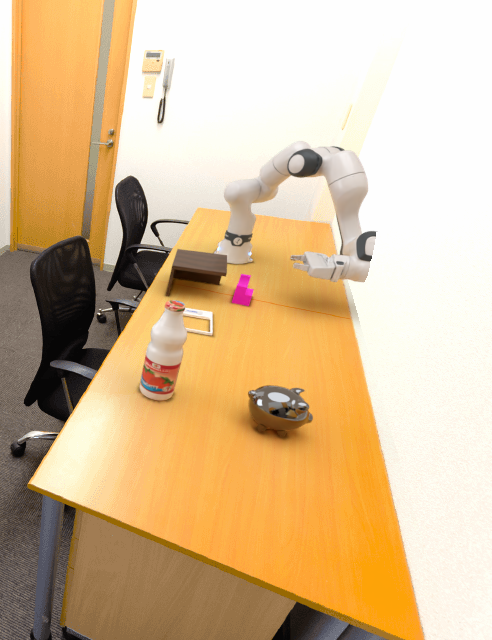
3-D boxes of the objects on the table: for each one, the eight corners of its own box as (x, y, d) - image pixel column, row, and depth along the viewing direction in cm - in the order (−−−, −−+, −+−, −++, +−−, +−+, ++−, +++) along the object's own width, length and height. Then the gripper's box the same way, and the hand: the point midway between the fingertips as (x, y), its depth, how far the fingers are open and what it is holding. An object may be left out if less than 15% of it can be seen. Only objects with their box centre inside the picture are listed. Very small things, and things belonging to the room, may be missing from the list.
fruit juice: (178, 391, 123) (202, 304, 109) (162, 406, 117) (184, 315, 103) (149, 377, 129) (167, 293, 114) (132, 390, 123) (149, 303, 109)
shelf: (171, 277, 197) (177, 248, 190) (219, 284, 190) (227, 255, 183) (165, 295, 179) (172, 265, 173) (218, 304, 172) (226, 273, 165)
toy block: (248, 306, 170) (254, 289, 167) (231, 302, 173) (236, 285, 169) (252, 293, 181) (257, 276, 177) (236, 289, 184) (241, 273, 180)
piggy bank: (308, 449, 103) (326, 412, 97) (239, 432, 108) (252, 396, 102) (300, 420, 112) (317, 385, 106) (237, 406, 117) (249, 371, 111)
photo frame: (212, 311, 164) (212, 332, 149) (211, 314, 164) (211, 335, 150) (172, 305, 169) (168, 325, 154) (171, 307, 169) (168, 327, 155)
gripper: (333, 250, 165) (291, 245, 170) (343, 267, 149) (298, 261, 154) (326, 265, 168) (286, 260, 173) (336, 284, 152) (292, 278, 157)
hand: (291, 261), depth 164 cm, fingers open, 8 cm apart
